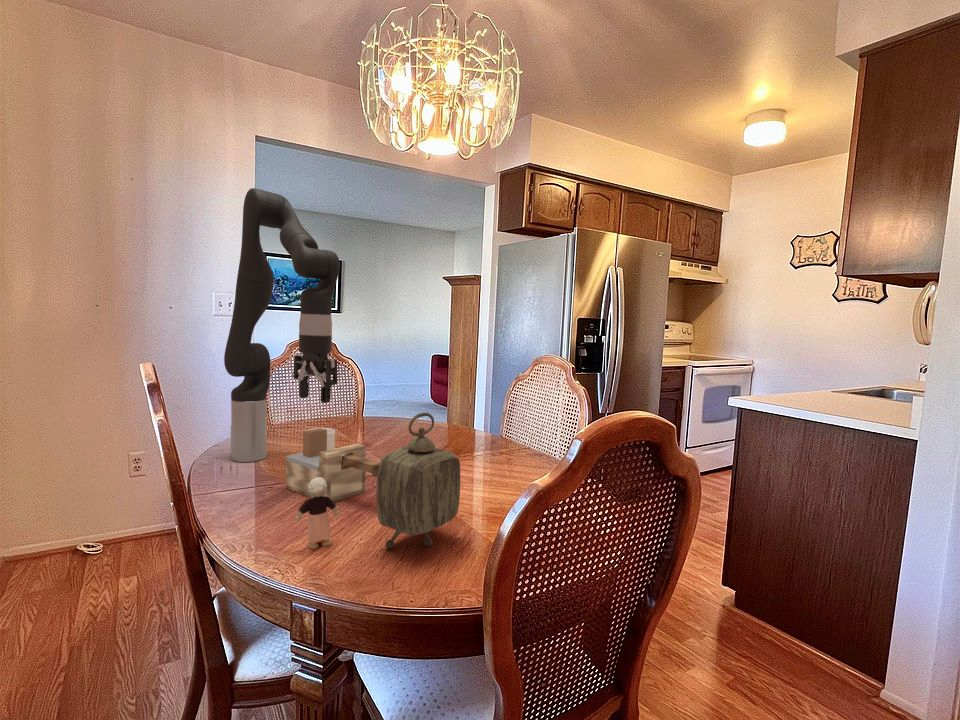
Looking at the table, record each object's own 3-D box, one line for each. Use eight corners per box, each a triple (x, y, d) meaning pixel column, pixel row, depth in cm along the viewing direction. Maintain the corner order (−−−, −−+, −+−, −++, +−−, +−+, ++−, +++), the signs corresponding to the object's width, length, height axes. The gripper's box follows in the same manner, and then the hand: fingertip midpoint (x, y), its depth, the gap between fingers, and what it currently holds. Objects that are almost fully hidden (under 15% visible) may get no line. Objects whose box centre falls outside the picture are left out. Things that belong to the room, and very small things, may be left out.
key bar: (340, 465, 117) (340, 455, 117) (351, 462, 120) (351, 452, 120) (375, 476, 110) (375, 465, 110) (386, 473, 113) (386, 462, 113)
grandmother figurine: (331, 535, 99) (332, 471, 98) (340, 542, 96) (341, 477, 95) (292, 546, 94) (292, 479, 93) (300, 554, 91) (300, 484, 90)
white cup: (326, 471, 138) (326, 435, 137) (299, 469, 140) (299, 433, 139) (339, 463, 146) (340, 429, 145) (314, 461, 147) (314, 427, 146)
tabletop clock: (426, 524, 106) (430, 405, 103) (461, 536, 100) (466, 411, 98) (375, 549, 94) (377, 415, 92) (412, 564, 89) (415, 422, 86)
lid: (285, 460, 124) (285, 431, 123) (324, 451, 132) (324, 424, 132) (318, 471, 116) (318, 440, 115) (356, 461, 125) (356, 432, 124)
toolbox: (285, 488, 124) (285, 442, 123) (323, 477, 133) (324, 434, 132) (326, 504, 115) (327, 454, 114) (364, 492, 123) (365, 445, 122)
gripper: (347, 335, 121) (345, 402, 123) (311, 331, 130) (310, 394, 131) (320, 335, 115) (319, 406, 117) (284, 331, 124) (283, 397, 125)
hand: (314, 399), depth 124 cm, fingers open, 8 cm apart
